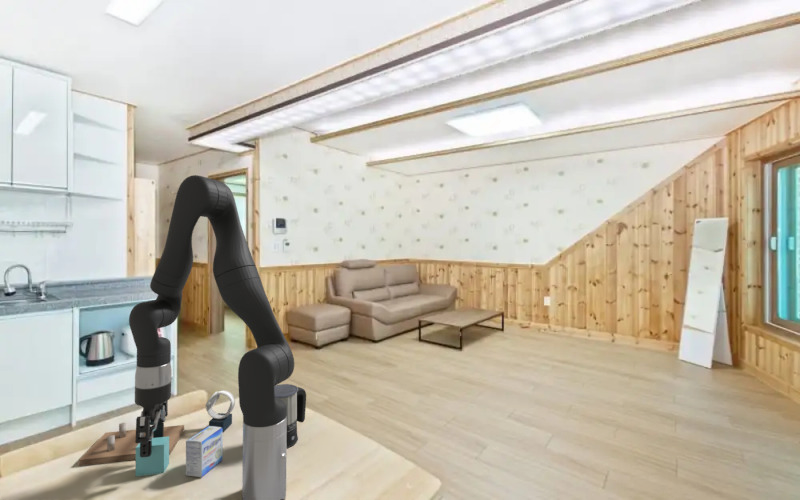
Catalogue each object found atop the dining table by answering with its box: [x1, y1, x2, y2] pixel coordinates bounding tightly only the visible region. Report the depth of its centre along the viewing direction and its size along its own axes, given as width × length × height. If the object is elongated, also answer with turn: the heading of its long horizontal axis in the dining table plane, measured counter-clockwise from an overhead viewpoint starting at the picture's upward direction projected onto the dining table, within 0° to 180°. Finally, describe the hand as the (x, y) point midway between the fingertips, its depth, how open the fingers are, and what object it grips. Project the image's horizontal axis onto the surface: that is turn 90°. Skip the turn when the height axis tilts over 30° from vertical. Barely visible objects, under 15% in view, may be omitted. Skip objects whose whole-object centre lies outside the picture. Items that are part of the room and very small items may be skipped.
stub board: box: [78, 422, 185, 467], centre depth 105 cm, size 20×14×5 cm
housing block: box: [135, 436, 170, 477], centre depth 94 cm, size 6×4×7 cm, turn 106°
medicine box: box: [185, 425, 224, 478], centre depth 95 cm, size 8×4×9 cm, turn 168°
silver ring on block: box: [205, 389, 236, 433], centre depth 116 cm, size 6×8×11 cm
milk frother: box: [275, 383, 307, 449], centre depth 111 cm, size 14×16×15 cm
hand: (152, 446), depth 94 cm, fingers open, 8 cm apart
